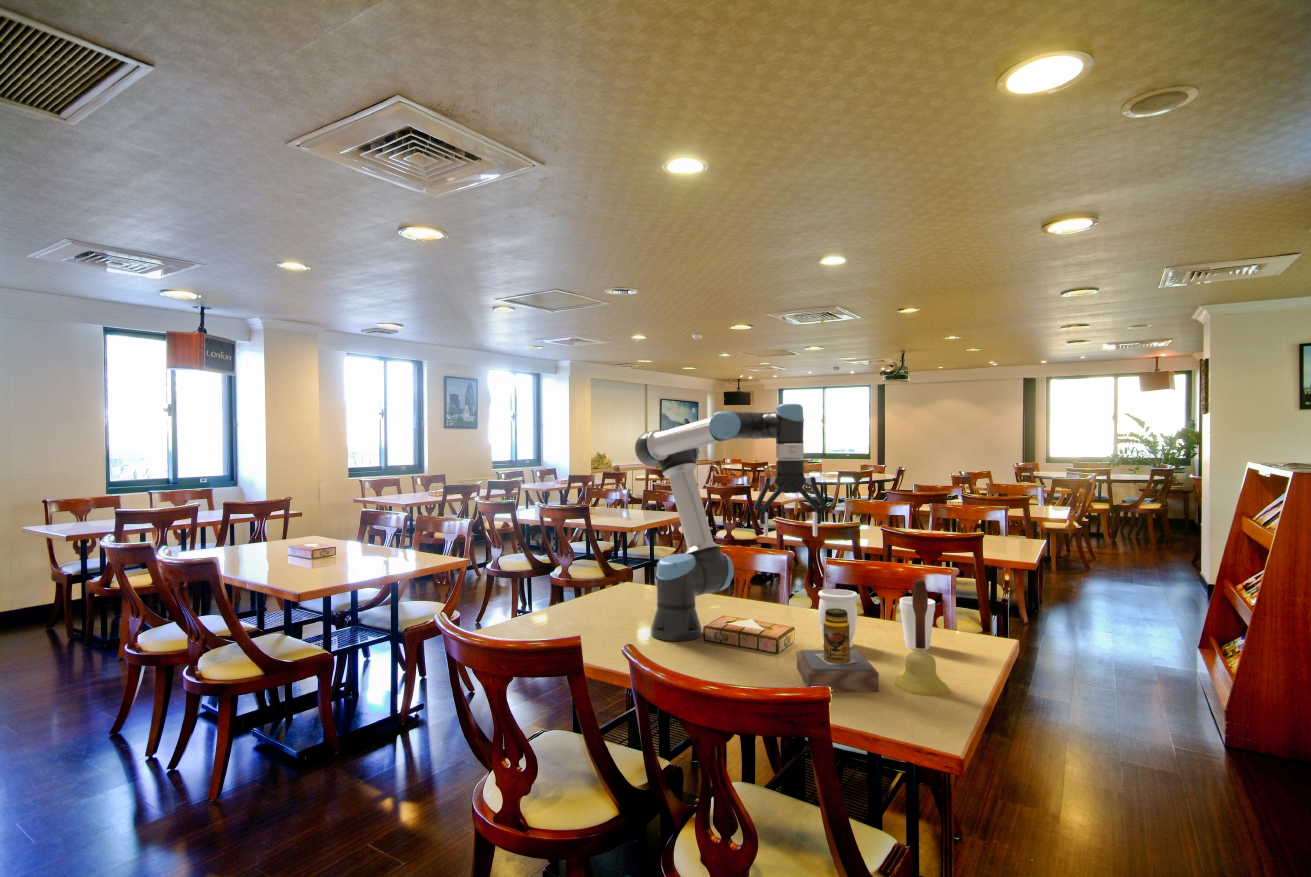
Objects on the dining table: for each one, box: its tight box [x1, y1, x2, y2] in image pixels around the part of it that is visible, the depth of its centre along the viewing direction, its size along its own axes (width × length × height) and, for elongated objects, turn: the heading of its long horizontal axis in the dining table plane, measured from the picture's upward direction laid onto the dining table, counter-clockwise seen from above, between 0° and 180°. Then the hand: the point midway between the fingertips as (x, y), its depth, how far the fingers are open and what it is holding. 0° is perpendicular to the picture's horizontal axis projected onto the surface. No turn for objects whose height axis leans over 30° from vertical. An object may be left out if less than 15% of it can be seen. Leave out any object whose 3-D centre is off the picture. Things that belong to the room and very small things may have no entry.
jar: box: [817, 588, 858, 649], centre depth 192 cm, size 11×10×15 cm
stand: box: [796, 649, 880, 693], centre depth 164 cm, size 16×16×5 cm
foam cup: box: [899, 596, 936, 651], centre depth 190 cm, size 10×9×13 cm
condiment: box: [814, 608, 857, 665], centre depth 164 cm, size 7×8×12 cm
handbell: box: [892, 579, 950, 697], centre depth 159 cm, size 12×12×25 cm
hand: (790, 536), depth 187 cm, fingers open, 13 cm apart
